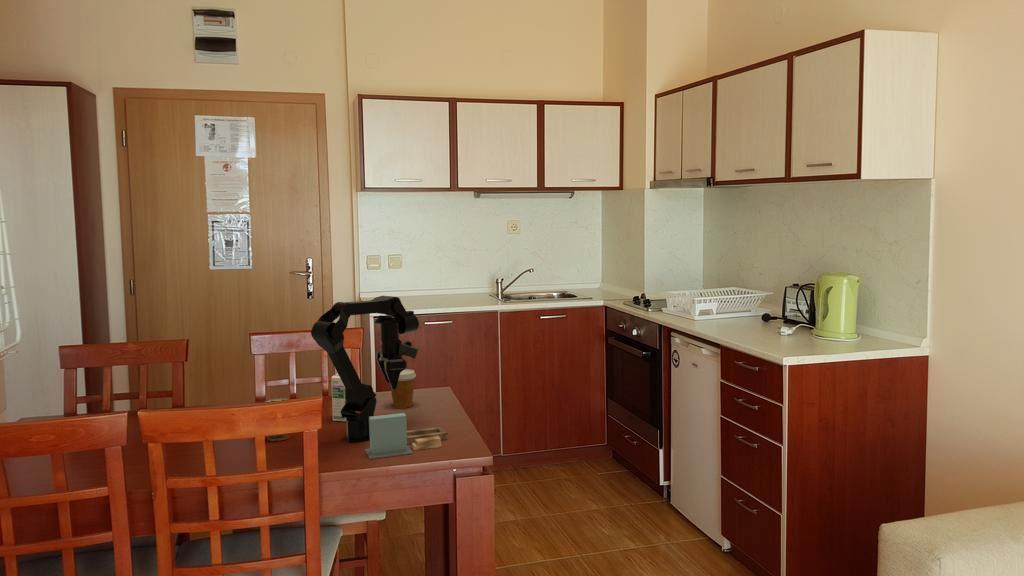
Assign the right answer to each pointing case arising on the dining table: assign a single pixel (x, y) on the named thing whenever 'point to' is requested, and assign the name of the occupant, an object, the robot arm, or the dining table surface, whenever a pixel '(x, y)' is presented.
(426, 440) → the offcut stack
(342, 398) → the syrup box
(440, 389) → the dining table surface
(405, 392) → the disposable coffee cup
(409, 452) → the mat
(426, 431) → the rack
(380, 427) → the panel
